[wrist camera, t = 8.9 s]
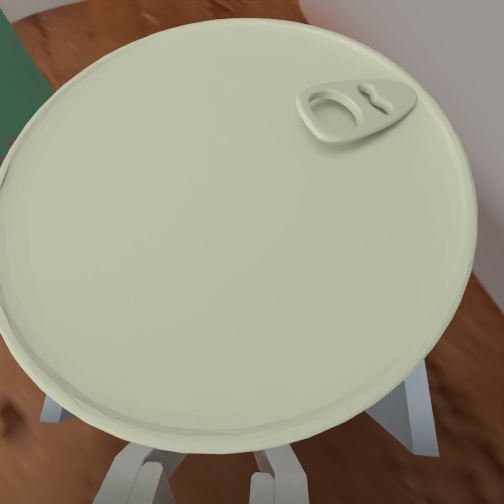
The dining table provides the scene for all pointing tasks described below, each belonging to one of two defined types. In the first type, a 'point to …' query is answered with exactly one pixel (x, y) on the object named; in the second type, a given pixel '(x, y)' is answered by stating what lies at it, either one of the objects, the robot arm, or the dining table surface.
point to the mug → (17, 87)
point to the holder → (384, 411)
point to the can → (232, 235)
